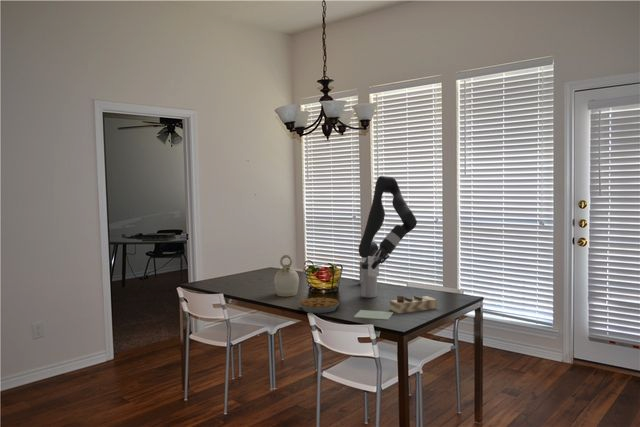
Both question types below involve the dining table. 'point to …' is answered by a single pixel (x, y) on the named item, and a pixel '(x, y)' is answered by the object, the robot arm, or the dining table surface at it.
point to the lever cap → (370, 262)
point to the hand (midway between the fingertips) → (370, 267)
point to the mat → (373, 314)
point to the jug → (286, 280)
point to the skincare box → (361, 270)
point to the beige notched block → (412, 304)
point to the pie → (319, 305)
